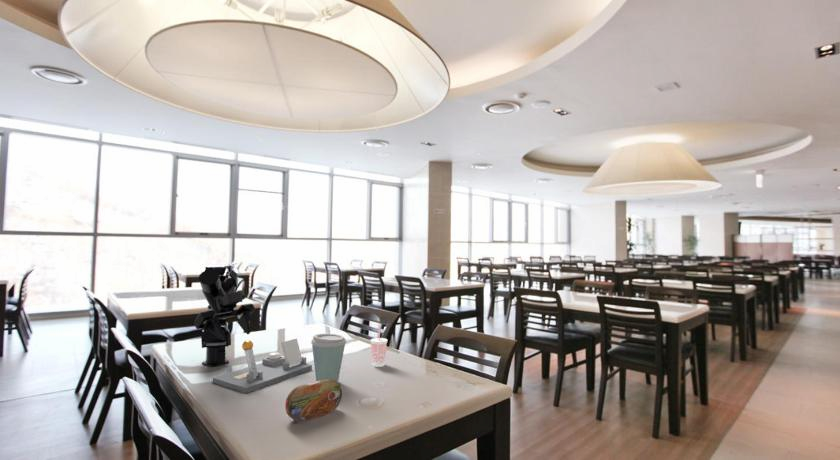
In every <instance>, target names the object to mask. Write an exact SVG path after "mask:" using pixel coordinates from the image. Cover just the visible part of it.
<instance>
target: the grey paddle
mask: <svg viewBox="0 0 840 460" xmlns="http://www.w3.org/2000/svg"><path fill="white" fill-rule="evenodd" d="M280 344H281V348H282V349H281V350H282V352H283V353H282V354H283V357H284V358H285V362H287V363H289V365H292V364H295V363H298V362H301V361H302V357H303V356H302V354H301V350H300V345H299V341H298V338H293V339H289V340H286V341H282V342H281V343H280Z"/></svg>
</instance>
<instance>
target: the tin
mask: <svg viewBox="0 0 840 460" xmlns="http://www.w3.org/2000/svg"><path fill="white" fill-rule="evenodd" d="M342 396H343V390H342V387H341V385H340V383H339V382H336V381H334V380H330V379H323V380H320V381H316V380H315V381H312V382H310V383H309V382H308V383H306V384H302V385H299V386H298V385H297V386H296V387H295V388H293V389H292V390H291V391H290V392H289V394H288V395H287V397H286V400H285V407H284V408H285V412H286V415H287V416H288V417H289V418H290V419H291V420H293V421H294V422H296V423H304V422H307V421H311V420H314V419H316V418H319V417H322V416H325V415H328V414H330V413H333V412H334V411H335V410H336V409H337V408H338V407H339V405H340V403H341V400H342Z"/></svg>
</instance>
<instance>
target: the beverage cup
mask: <svg viewBox="0 0 840 460" xmlns="http://www.w3.org/2000/svg"><path fill="white" fill-rule="evenodd" d="M370 343H371V365H372V367H375V368H376V367H377V368H380V367H384V366H385V365H386V356H387V355H386V353H387V343H388V339H387V338H385V337H381V325H378V337H375V338H374V337H373V338H371V339H370Z"/></svg>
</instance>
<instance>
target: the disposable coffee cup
mask: <svg viewBox="0 0 840 460" xmlns="http://www.w3.org/2000/svg"><path fill="white" fill-rule="evenodd" d="M310 343H311V347H312V355H313V365H314V375H315V382H316V381H320V380H323V379H330V380H334V381H336V382H338V381H339V379H340V373H341V368H342V363H343V358H344V351H345V346H346V343H347V339H346V337H344V336H343V335H341V334H336V333H317V334H315V335H313V339H311V342H310ZM338 383H339V382H338Z"/></svg>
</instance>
